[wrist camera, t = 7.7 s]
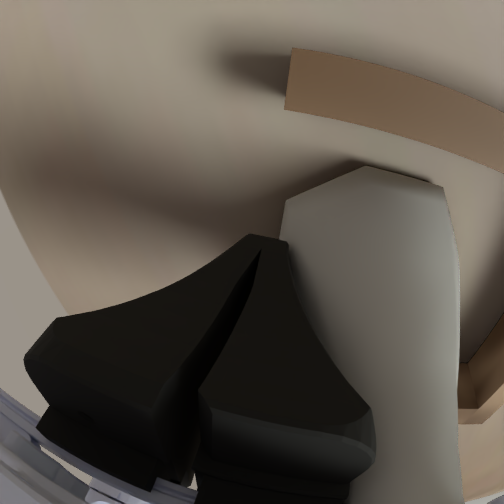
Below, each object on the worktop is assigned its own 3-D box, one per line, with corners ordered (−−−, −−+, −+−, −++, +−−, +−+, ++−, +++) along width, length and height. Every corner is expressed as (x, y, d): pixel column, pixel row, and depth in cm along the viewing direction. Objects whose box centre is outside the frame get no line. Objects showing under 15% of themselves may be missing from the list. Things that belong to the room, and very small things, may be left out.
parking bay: (472, 381, 14) (481, 423, 11) (255, 347, 15) (240, 396, 13) (589, 173, 7) (629, 203, 4) (302, 56, 8) (292, 47, 6)
